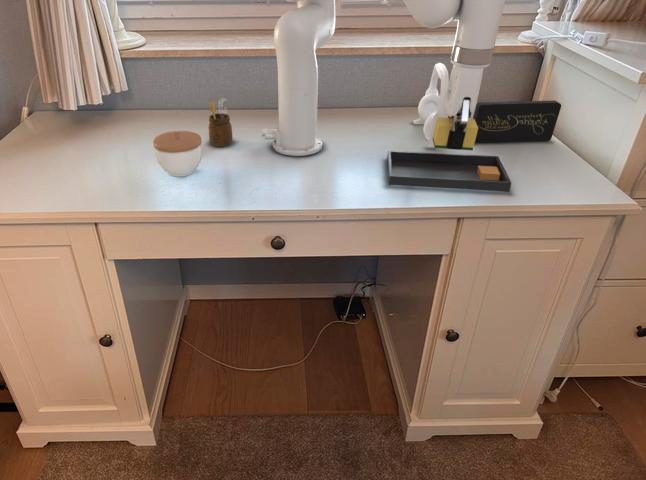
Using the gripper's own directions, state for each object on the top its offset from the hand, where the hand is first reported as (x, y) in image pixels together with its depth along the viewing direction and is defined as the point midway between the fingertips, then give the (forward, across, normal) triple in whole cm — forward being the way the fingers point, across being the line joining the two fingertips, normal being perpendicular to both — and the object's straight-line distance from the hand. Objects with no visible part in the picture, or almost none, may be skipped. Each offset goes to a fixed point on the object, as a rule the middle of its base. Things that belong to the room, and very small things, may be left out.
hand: (452, 142), depth 111 cm
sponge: (0, 0, 0) cm, 0 cm away
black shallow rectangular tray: (+8, 0, 0) cm, 8 cm away
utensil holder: (+9, -13, -55) cm, 58 cm away
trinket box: (+9, +5, -60) cm, 61 cm away
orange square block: (+7, 0, +9) cm, 12 cm away
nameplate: (+8, -24, +19) cm, 31 cm away
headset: (+8, -25, -1) cm, 26 cm away
